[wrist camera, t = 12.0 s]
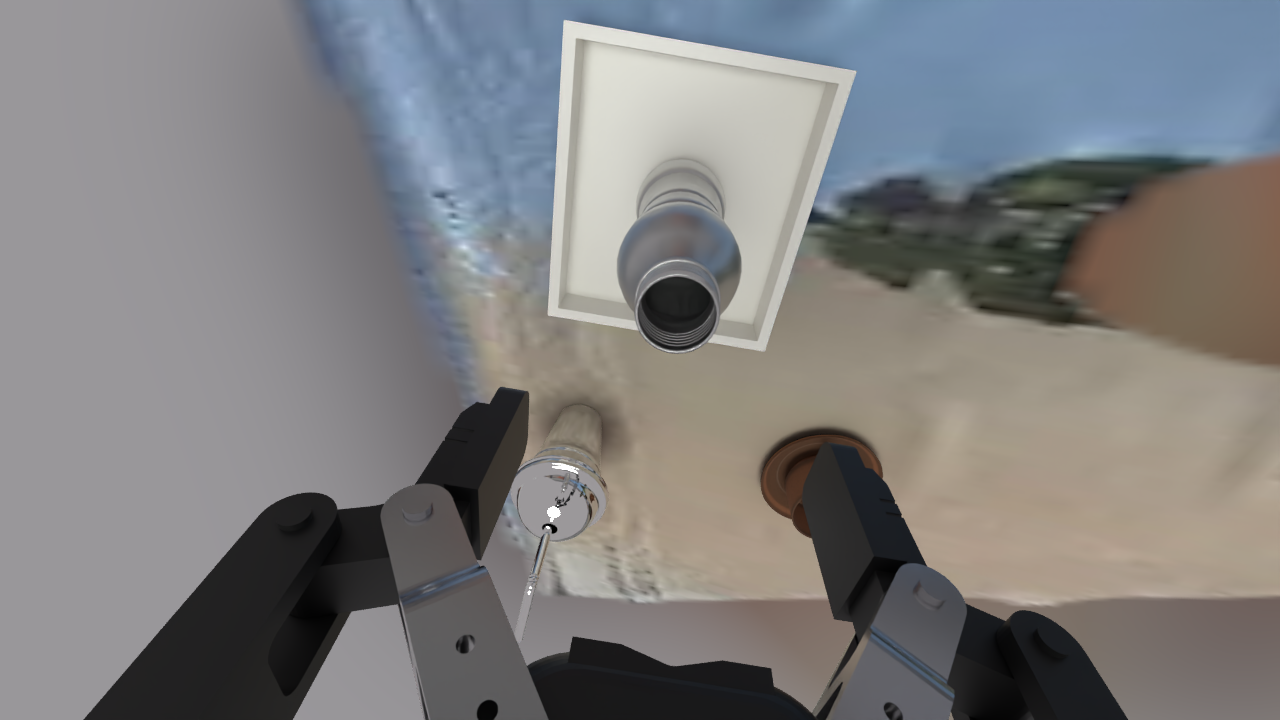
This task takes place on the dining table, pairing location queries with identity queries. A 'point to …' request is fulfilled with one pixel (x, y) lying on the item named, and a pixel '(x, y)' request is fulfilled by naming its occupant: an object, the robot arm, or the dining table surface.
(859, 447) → the cup and saucer
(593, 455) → the cup with straw
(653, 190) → the plastic bottle
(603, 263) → the tray
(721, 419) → the dining table surface
